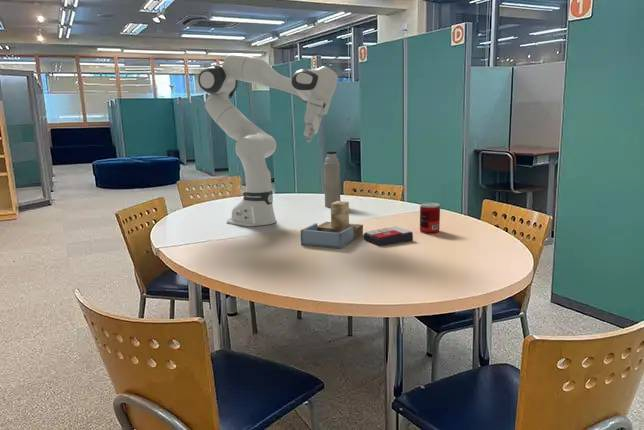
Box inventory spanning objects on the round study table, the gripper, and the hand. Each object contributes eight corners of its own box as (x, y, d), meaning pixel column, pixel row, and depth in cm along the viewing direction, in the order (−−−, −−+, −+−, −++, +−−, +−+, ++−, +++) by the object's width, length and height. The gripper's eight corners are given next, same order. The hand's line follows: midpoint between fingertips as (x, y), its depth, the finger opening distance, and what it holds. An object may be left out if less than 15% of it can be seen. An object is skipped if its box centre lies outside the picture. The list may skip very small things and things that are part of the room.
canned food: (441, 229, 201) (442, 203, 199) (437, 234, 194) (437, 206, 192) (422, 228, 204) (422, 202, 202) (417, 233, 197) (418, 205, 195)
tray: (300, 244, 184) (300, 230, 183) (315, 236, 195) (315, 223, 193) (340, 248, 177) (340, 233, 176) (353, 240, 188) (353, 226, 187)
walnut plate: (315, 236, 195) (315, 227, 194) (326, 231, 203) (326, 221, 203) (353, 240, 188) (353, 230, 187) (363, 234, 197) (362, 224, 196)
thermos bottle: (341, 204, 259) (340, 150, 253) (339, 207, 251) (338, 152, 246) (326, 204, 261) (325, 151, 255) (323, 207, 253) (322, 152, 247)
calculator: (363, 231, 188) (396, 224, 194) (363, 242, 189) (396, 235, 195) (378, 237, 178) (413, 230, 185) (379, 249, 179) (413, 241, 186)
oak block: (331, 226, 194) (330, 203, 192) (337, 223, 199) (337, 201, 198) (343, 227, 192) (342, 204, 190) (349, 224, 197) (348, 201, 195)
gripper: (312, 111, 212) (302, 142, 212) (308, 96, 192) (296, 129, 191) (326, 116, 212) (316, 146, 211) (323, 101, 192) (311, 134, 191)
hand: (306, 138), depth 201 cm, fingers open, 8 cm apart
